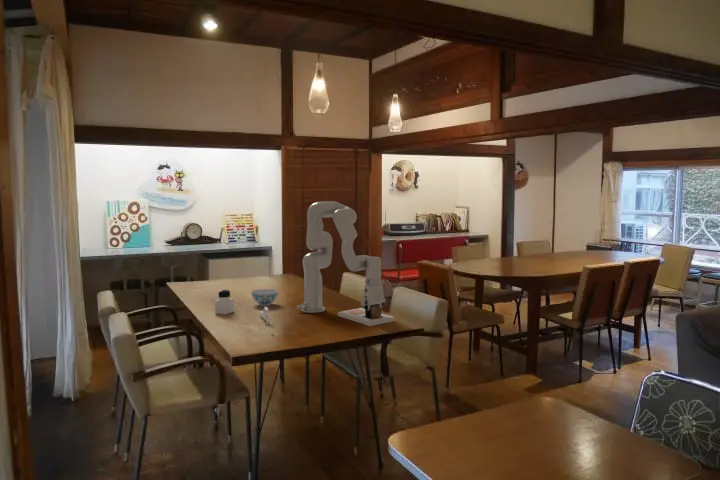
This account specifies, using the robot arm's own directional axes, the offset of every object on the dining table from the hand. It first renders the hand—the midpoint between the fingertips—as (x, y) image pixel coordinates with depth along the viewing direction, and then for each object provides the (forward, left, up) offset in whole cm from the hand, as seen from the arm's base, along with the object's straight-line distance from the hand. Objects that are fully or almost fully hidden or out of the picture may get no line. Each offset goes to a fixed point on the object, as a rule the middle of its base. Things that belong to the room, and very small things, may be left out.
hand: (373, 316), depth 268 cm
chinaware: (-25, +65, -2) cm, 70 cm away
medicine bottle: (-51, +62, -2) cm, 80 cm away
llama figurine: (-43, +32, -3) cm, 54 cm away
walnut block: (0, 0, -2) cm, 2 cm away
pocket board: (0, +6, -2) cm, 6 cm away
